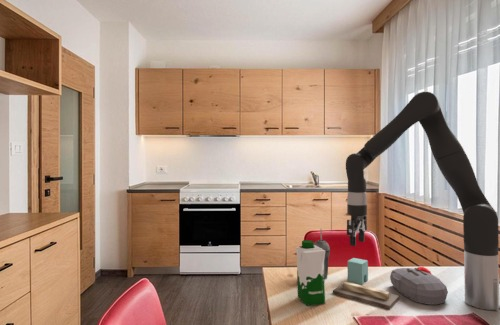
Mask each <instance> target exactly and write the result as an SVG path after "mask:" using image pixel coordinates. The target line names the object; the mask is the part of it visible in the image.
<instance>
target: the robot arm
mask: <svg viewBox="0 0 500 325" xmlns="http://www.w3.org/2000/svg"><path fill="white" fill-rule="evenodd" d="M418 122H419V123H420V125H421V127H422V129H423V131H424V133H425V135H426V137H427V139H428V140H427V141H428V144H429V147H430V150H431V153H432V156H433V157H434V160H435V162H436V165H437V167H438V169H439V170H440V173H441V174H442V176H443V177H444V180H446V182H447V183H448V185H450V187H451V188H452V190H453V192H454V193H455V195H456V197H457V199H458V201H459V204H460V207H461V210H462V213H463V217H462V218H463V220H462V222H463V224H462V225H463V231H462V232H463V252H464V253H463V257H464V258H463V259H464V260H463V261H464V262H463V265H464V266H463V268H464V302H465V303H466V304H468V305H469V306H471V307H474V308H477V309H481V310H488V311H496V312H498V311H499V309H500V276H499V245H500V244H499V218H498V217H499V216H498V214H497V212H496V210H495V208H494V207H493V206H492V204H491V203H490V202H489V200H488V199H487V197H486V196H485V193H484V192H483V191H482V189H481V187H480V185H479V183H478V180H477V178H476V175H475V172H474V168H473V167H472V163H471V162H470V159H469V158H468V155H467V153H466V152H465V149H464V147H463V146H462V145H461V143H460V141H459V139H458V138H457V137H456V135H455V134H454V133H453V132H452V130H451V129H450V127H449V125H448V124H447V121H446V119H445V117H444V114H443V111H442V107H441V104H440V101H439V98H438V96H436V95H435V94H434V93H433V92H431V91H421V92H418V93H416V94H415V95H414V96H413V97H412V98H411V100H409V102H408V103H406V105H405V107H404V108H402V110H401V111H400V112H399V113H398V114H397V115H396V116H395V117H394V118H393V119H392V120H390V122H388V124H386V125H385V126H384V127H382V128H381V129H380V130H379V131H378V132H377V133H376V134H375V135H373V136H372V137H371V138H370V139H369V140H367V141H366V143H364V146H363V147H362V148H361V149H360V150H359V151H358V152H356V153H351V154H348V156H347V158H346V160H345V171H346V177H347V196H346V198H347V199H346V200H347V201H346V203H347V206H346V208H347V209H346V211H347V215H348V216H350V219H347V220H346V235H347V236H349V245H350V246H352V247H356V246H357V235H358V242H360V243H364V242H365V233H366V231H368V223H367V221H368V218H367V215H368V197H367V181H366V178H365V171H364V170H365V169H366V168H368V167H369V165H371V164H372V163H373V161H375V160H376V158H378V157H379V156H381V155H382V154H383V153H384V152H386V151H387V150H389V148H390V147H391V146H392V145H394V144H395V143H396V142H397V141H398V139H399V138H400V137H401V136H403V134H405V132H406V131H407V130H408V129H410V128H411V127H412V126H414V125H415V124H416V123H418ZM357 233H358V234H357Z"/></svg>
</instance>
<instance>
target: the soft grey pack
mask: <svg viewBox="0 0 500 325" xmlns="http://www.w3.org/2000/svg"><path fill="white" fill-rule="evenodd" d="M417 268H418V267H414V268H413V267H403V268H401V267H400V268H395V269H393V270H392V271H391V272H390V275H389V276H390V277H389V279H390V283H391V285H392V286H393V287H394V288H395V289H396V290H397V291H398V292H399V293H401V295H403V296H405V297H407V299H410V300H411V301H413V302H416V303H421V304H424V305H439V304H444V303H445V301H446V299H447V296H448V293H449V292H448V289H447V288H448V287H447V286H446V284H444V283H443V281H442V280H441V279H440V278H439V277H437V276H436V275H434V274H432V273H431V274H430V273H427V272H424V271H421V270H418V269H417Z"/></svg>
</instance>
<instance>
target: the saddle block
mask: <svg viewBox="0 0 500 325" xmlns="http://www.w3.org/2000/svg"><path fill="white" fill-rule="evenodd" d="M347 282H350V283H354V284H358V285H362V286H364V284H365V282H369V261H368V260H367V259H362V258H356V257H352V258H351V259H348V260H347Z"/></svg>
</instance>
